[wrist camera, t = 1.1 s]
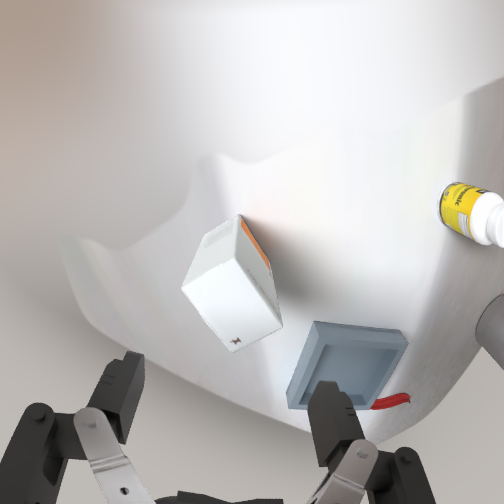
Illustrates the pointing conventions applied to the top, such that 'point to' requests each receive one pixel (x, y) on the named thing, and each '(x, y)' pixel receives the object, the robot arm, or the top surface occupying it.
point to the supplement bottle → (472, 212)
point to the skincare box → (233, 286)
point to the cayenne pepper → (390, 401)
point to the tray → (346, 362)
